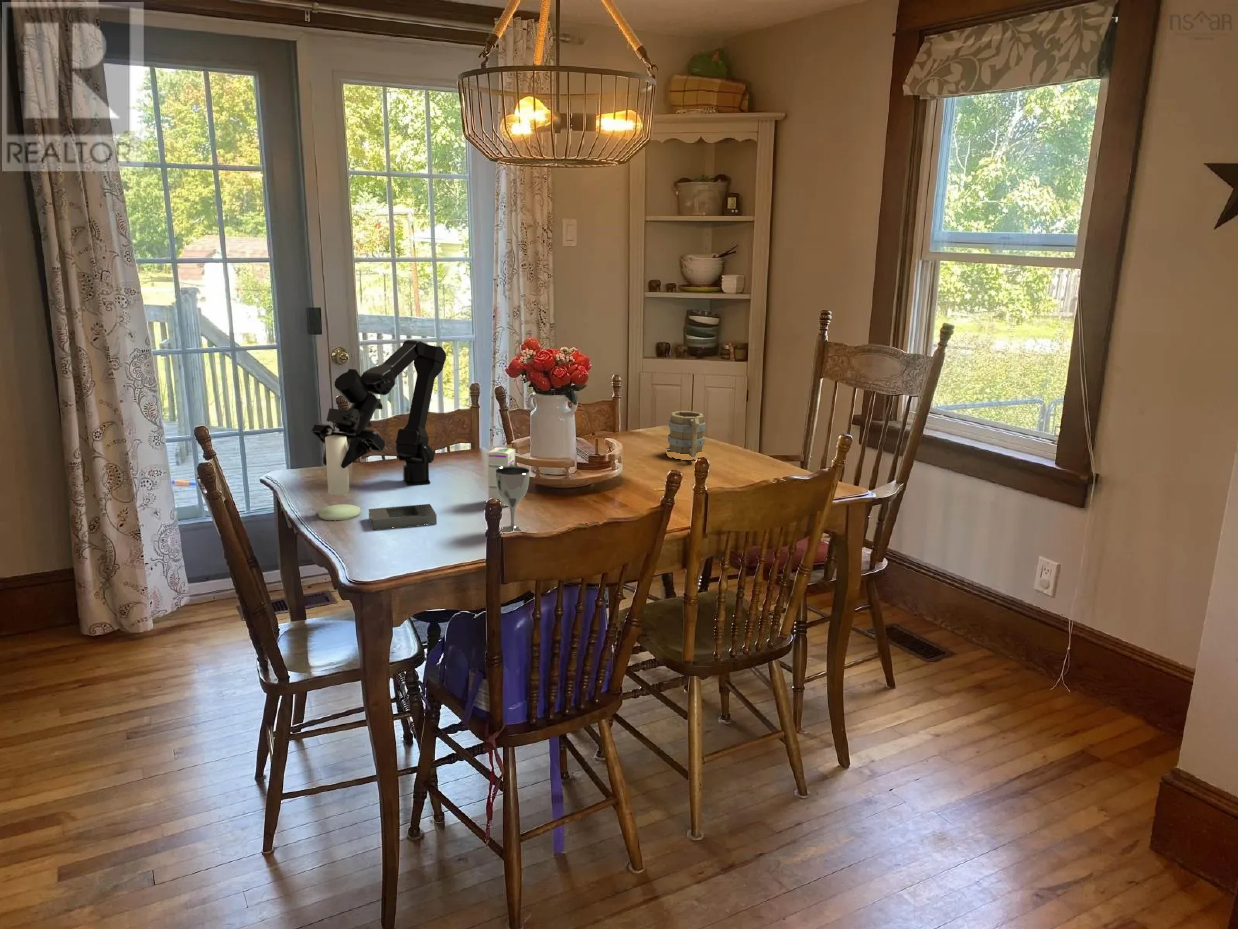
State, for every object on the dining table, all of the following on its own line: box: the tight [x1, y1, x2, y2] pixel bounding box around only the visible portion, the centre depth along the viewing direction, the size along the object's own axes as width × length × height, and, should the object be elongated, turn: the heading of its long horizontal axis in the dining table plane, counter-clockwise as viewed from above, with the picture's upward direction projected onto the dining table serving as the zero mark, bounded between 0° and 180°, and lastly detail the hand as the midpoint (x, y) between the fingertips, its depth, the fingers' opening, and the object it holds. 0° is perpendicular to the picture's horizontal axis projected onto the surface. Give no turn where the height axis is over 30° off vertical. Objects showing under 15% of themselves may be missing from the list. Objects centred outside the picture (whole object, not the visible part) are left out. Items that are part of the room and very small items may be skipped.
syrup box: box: [487, 447, 516, 507], centre depth 233 cm, size 6×6×14 cm
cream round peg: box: [324, 435, 350, 496], centre depth 218 cm, size 5×5×14 cm
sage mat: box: [318, 504, 361, 522], centre depth 221 cm, size 10×10×1 cm
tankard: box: [666, 410, 706, 457], centre depth 284 cm, size 20×13×15 cm, turn 6°
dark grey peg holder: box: [368, 503, 438, 531], centre depth 217 cm, size 15×9×2 cm, turn 112°
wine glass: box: [496, 465, 530, 532], centre depth 212 cm, size 8×8×15 cm
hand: (333, 466), depth 217 cm, fingers closed on cream round peg, 5 cm apart
